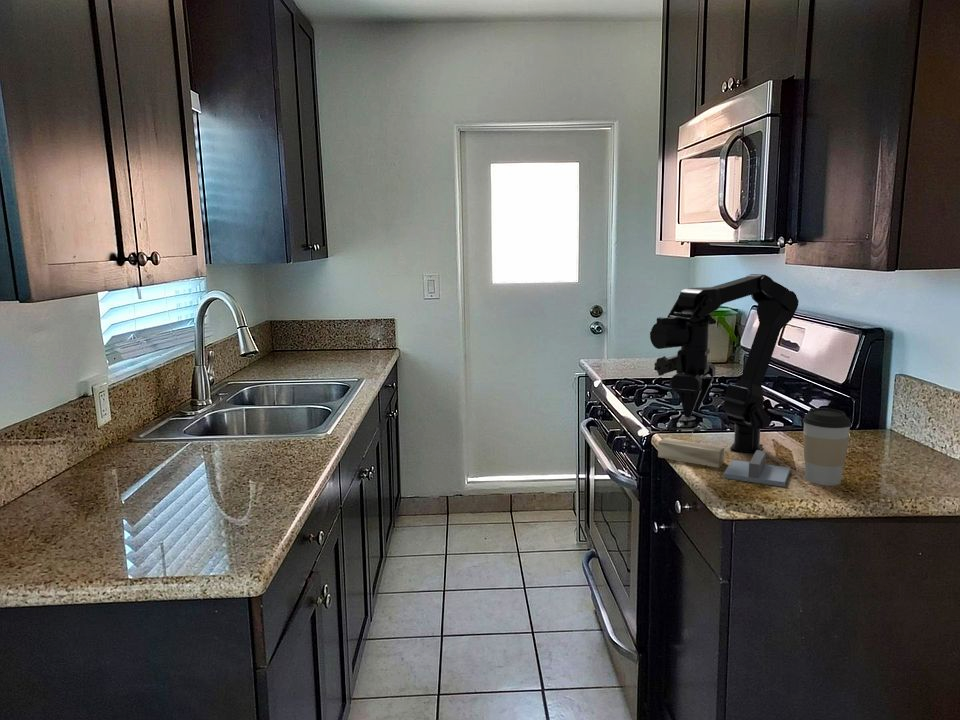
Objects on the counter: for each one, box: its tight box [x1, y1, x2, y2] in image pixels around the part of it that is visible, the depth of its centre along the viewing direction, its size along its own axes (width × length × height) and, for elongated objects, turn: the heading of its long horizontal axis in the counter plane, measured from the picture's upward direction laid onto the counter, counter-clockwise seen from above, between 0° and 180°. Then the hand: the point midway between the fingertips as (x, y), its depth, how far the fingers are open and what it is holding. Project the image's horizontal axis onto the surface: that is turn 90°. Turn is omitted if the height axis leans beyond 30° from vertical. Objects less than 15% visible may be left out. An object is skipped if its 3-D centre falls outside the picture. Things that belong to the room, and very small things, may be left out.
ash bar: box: [657, 437, 726, 469], centre depth 157 cm, size 4×14×4 cm, turn 55°
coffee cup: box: [802, 407, 852, 487], centre depth 141 cm, size 9×9×15 cm
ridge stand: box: [722, 450, 791, 488], centre depth 146 cm, size 10×12×4 cm
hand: (692, 412), depth 155 cm, fingers open, 9 cm apart
